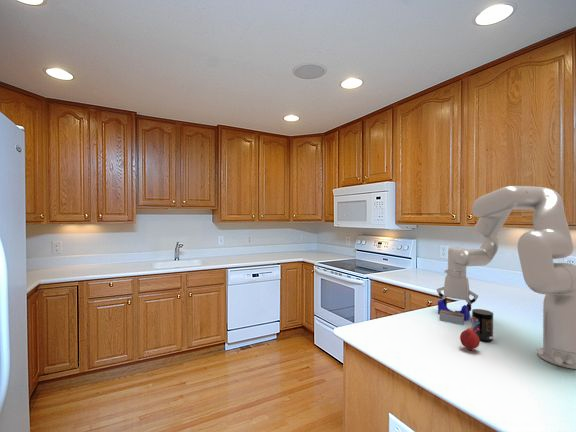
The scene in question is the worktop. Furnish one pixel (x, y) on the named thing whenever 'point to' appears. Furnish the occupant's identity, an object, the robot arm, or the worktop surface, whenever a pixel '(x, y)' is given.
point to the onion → (469, 339)
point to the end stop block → (452, 317)
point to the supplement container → (483, 324)
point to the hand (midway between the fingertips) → (456, 309)
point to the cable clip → (463, 311)
